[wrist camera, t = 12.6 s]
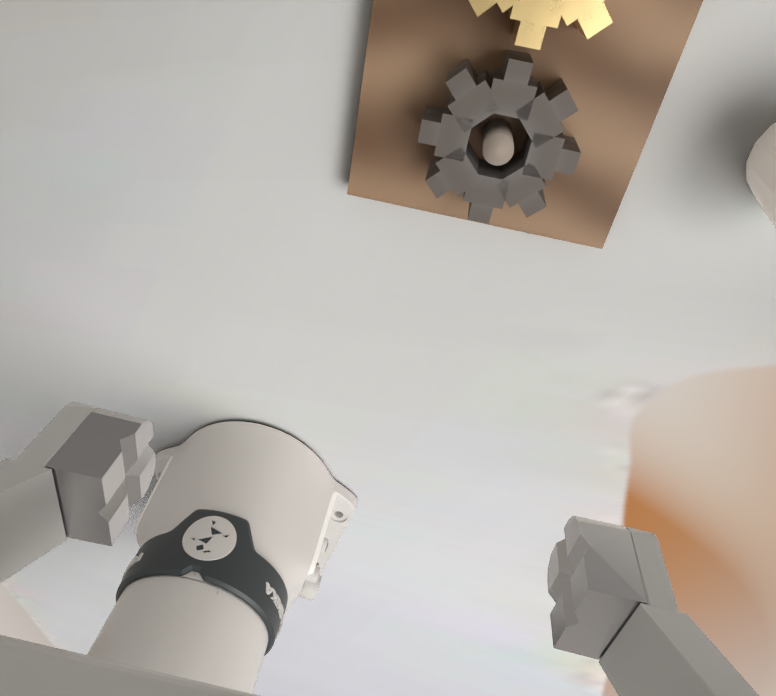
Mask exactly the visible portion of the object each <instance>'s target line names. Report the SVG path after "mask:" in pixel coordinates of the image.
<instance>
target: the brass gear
mask: <svg viewBox="0 0 776 696" xmlns="http://www.w3.org/2000/svg"><path fill="white" fill-rule="evenodd" d="M603 1H604V0H469V2H470V4H471V6H472V8H473V9H474V11H475V13H476V15H477V17H478V16H480V15H481V14H482V13H484V12H485V11H486V10H488V9H489V8H490V7H492V6H493V5H494V4H496V3H498V5H499V7H500V9H501V11H502V13H503V12H505V11H506V10H507V9H508V13H509V17H510V19H515V24H514V28H513V32H512V37H513V41H514V45H518V46H523V47H527V48H532V49H537V50H540V48H541V45H542V41H543V38H544V34H545V31H546V27H547V26H549V27H554V28H558V25H559V22H560V19H561V20H562V21H563V22H564V23H565V24H566V25H567V26H568V25H569V24H571V23H572V22H574V24H575V26H576V28H577V30H578V31H579V32H580V33H581V34H582V35H583V36H584V37H585V38H586V39H589V38H590V37H592V36H593V35H595V34H596V33H598V32H599V31H601V30H602V29H604V28H605V27H607V26H608V25H610V24H611V23H613V22H612V19H611V17H610V15H609V13H608V11H607V9H606V7H605V4H604V2H603Z"/></svg>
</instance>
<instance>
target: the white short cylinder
mask: <svg viewBox="0 0 776 696" xmlns="http://www.w3.org/2000/svg"><path fill="white" fill-rule="evenodd" d="M746 181H747V183H748V185H749V187H750V189H751V191H752V193H753V195H754V196H755V198H756V199H757V201H758V202H759V204H760V205H761V207H762V208H763V210H764V211H765V213H766V214H767V216H768V217H769V219H770V220H771V222H772V223H773V225H774V226H775V227H776V122H775V123H773V124H771V125H770V126H769V128H768V129H767V130H766V131H765V132H764V133H763V134H762V135H761V136H760V137H759V138H758V140H757V141H756V142H755V143H754V146H753V148H752V150H751V152H750V155H749V157H748V159H747V161H746Z"/></svg>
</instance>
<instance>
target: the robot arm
mask: <svg viewBox="0 0 776 696" xmlns="http://www.w3.org/2000/svg"><path fill="white" fill-rule="evenodd" d="M153 436H154V433H153V425H152V422H150V421H148V420H144V419H140V418H136V417H132V416H128V415H124V414H120V413H116V412H112V411H109V410H105V409H101V408H95V407H91V406H87V405H83V404H79V403H75V402H73V403H71V404H69V405H67V406H65V407H64V408H63V409H62V410H61V411H60V412H59V413H58V415H57V416H56V417H55V418H54V419H53V420H52V421H51V422H50V423H49V424H48V425H47V426H46V427H45V429H44V430H43V431H42V432H41V433H40V434H39V435H38V436H37V437H36V438H35V439H34V440H33V441H32V443H31V444H30V445H29V446H28V447H27V448H26V449H25V450H24V451H23V452H22V453H21V454H20V455H19V456H18V458H17V459H16V460H10V459H6V460H3V461H1V462H0V583H1V582H3V581H4V580H6V579H7V578H9V577H10V576H12V575H14V574H15V573H17V572H18V571H20V570H21V569H23V568H24V567H26V566H27V565H29V564H30V563H32V562H33V561H35V560H37V559H38V558H40V557H41V556H43V555H44V554H46V553H47V552H49V551H50V550H52V549H53V548H55V547H56V546H58V545H60V544H61V543H63V542H64V541H66V540H67V538H66V537H69V538H74V539H79V540H84V541H89V542H94V543H99V544H104V545H108V546H112V545H113V544H114V542H115V541H116V539H117V537H118V536H119V534H120V533H121V531H122V530H123V528H124V526H125V525H126V523H127V522H128V520H129V519H130V513H129V506H130V505H132V504H134V503H136V502H138V501H140V500H141V499H142V498H143V496H144V495H145V493H146V491H147V490H148V488H149V485H150V483H151V480H152V477H153V475H154V473H155V476H156V479H157V484H156V485H155V487H154V489H153V491H152V493H151V495H150V497H149V499H148V501H147V503H146V505H145V507H144V509H143V511H142V513H141V515H140V517H139V518H138V520H137V523H136V525H135V529H134V533H135V534H136V535H137V541H138V544H139V546H140V547H141V548H140V549H139V551H138V553H137V554H136V556H135V558H134V559H133V560H132V561H131V563H130V564H129V566H128V567H127V569H126V571H125V573H124V575H123V578H122V582H121V584H120V586H119V588H118V590H117V593H116V605H115V606H114V608H113V610H112V612H111V613H110V615H109V617H108V619H107V620H106V622H105V624H104V626H103V627H102V629H101V631H100V633H99V635H98V636H97V638H96V640H95V642H94V643H93V645H92V647H91V649H90V650H89V652H88V654H87V655H84V654H80V653H75V652H71V651H67V650H63V649H58V648H54V647H50V646H45V645H41V644H37V643H32V642H28V641H24V640H20V639H15V638H11V637H7V636H3V635H0V696H259V695H255V694H253V692H254V688H255V685H256V681H257V677H258V674H259V671H260V667H261V664H262V661H263V658H264V656H265V655H266V654H267V653H268V652H269V651H270V650H271V648H272V646H273V644H274V641H275V639H276V638H277V636H278V634H279V632H280V629H281V626H282V623H283V619H284V617H285V616H286V614H287V613H288V611H289V609H290V608H291V606H292V604H293V602H294V600H295V599H296V597H297V596H300V597H302V598H305V599H308V600H314V599H315V596H316V594H317V591H318V588H319V585H320V581H321V574H322V572H323V570H324V568H325V566H326V565H327V563H328V561H329V559H330V557H331V555H332V553H333V551H334V550H335V548H336V546H337V544H338V542H339V540H340V538H341V536H342V535H343V533H344V531H345V529H346V527H347V525H348V523H349V522H350V520H351V518H352V516H353V514H354V512H355V509H356V507H357V504H358V501H357V498H356V497H355V496H354V495H353V494H352V493H351V492H350V491H349V490H348V489H346V488H345V487H343V486H342V485H341V484H339V483H338V482H336V481H335V479H334V478H333V477H332V476H331V474H330V473H329V471H328V470H327V468H326V467H325V465H324V464H323V462H322V461H321V460H320V459H319V458H318V456H317V455H316V454H315V453H314V452H313V451H311V450H310V449H309V448H308V447H307V446H305V445H304V444H303V443H301V442H300V441H298V440H297V439H295V438H294V437H292V436H290V435H288V434H286V433H284V432H282V431H279V430H277V429H274V428H272V427H268V426H265V425H261V424H256V423H251V422H241V421H229V422H221V423H216V424H212V425H209V426H206V427H204V428H202V429H200V430H198V431H197V432H195V433H194V434H192V435H191V436H190V437H189V438H188V439H187V440H186V441H185V442H184V443H182V444H181V445H179V446H176V447H172V448H168V449H165V450H162V451H160V452H158V453H157V454H156V456H155V452H154V450H153V449H152V448H151V447H150V445H149V442H150V441H151V439H152V438H153ZM564 532H565V539H564V540H562V541H560V542H558V543H556V545H555V547H554V549H553V551H552V554H551V557H550V561H549V566H548V579H547V581H548V592H549V594H550V595H551V597H552V598H553V599H554V601H555V602H556V605H555V607H554V608H553V610H552V612H551V614H550V616H551V626H552V636H553V647H554V648H556V649H560V650H564V651H567V652H571V653H575V654H579V655H583V656H587V657H591V658H594V659H598V660H600V661H599V663H600V665H601V667H602V668H603V670H604V672H605V674H606V675H607V677H608V679H609V680H610V682H611V684H612V685H613V687H614V688H615V690H616V692H617V694H618V695H619V696H759V695H758V694H757V693H756V691H755V690H754V689H753V688H752V687H751V686H750V685H749V684H748V682H747V681H746V680H745V679H744V678H743V677H742V676H741V674H739V672H738V671H737V670H736V669H735V668H734V667H733V665H732V664H731V663H730V662H729V661H728V660H727V659H726V657H725V656H724V655H723V654H722V653H721V652H720V651H719V650H718V649H717V647H716V646H715V645H714V644H713V643H712V642H711V641H710V640H709V638H708V637H707V636H706V635H705V634H704V633H703V631H702V630H701V629H700V628H699V627H698V626H697V625H696V624H695V622H694V621H693V620H692V619H691V618H690V617H689V615H687V614H685V613H681V612H679V610H678V607H677V604H676V600H675V596H674V593H673V590H672V586H671V583H670V579H669V576H668V573H667V569H666V566H665V562H664V559H663V556H662V552H661V549H660V545H659V542H658V538H657V537H656V536H655V534H654V533H651V532H646V531H642V530H637V529H632V528H628V527H623V526H619V525H615V524H610V523H605V522H601V521H596V520H591V519H587V518H582V517H577V516H572V517H571V518H570V519H569V520H568V522H567V524H566V526H565V527H564Z"/></svg>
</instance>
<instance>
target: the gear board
mask: <svg viewBox="0 0 776 696" xmlns="http://www.w3.org/2000/svg"><path fill="white" fill-rule="evenodd" d="M603 2H604V4H605V7H606V9H607V11H608V13H609V15H610V17H611V19H612V22H613V23H611V24H610V25H608V26H607V27H605V28H604V29H602V30H601V31H599V32H598V33H596V34H595V35H593V36H592V37H590V38H589V39H586V38H585V37H584V36H583V35H582V34H581V33H580V32H579V31H578V30H577V28H576V26H575V24H574V22H572V23H571V24H569V25H568V26H567V25H566V24H565V23H564V22H563V21H562V20H561V19H560V22H559V25H558V28H554V27H549V26H547V27H546V31H545V34H544V38H543V41H542V45H541V48H540V50H537V49H532V48H527V47H523V46H518V45H514V41H513V37H512V32H513V28H514V24H515V19H510V17H509V13H508V9H507V10H506V11H505V12H503V13H502V11H501V9H500V7H499V5H498V3H496V4H494V5H493V6H492V7H490V8H489V9H488V10H486V11H485V12H484V13H482V14H481V15H480V16H478V17H477V15H476V13H475V11H474V9H473V8H472V6H471V4H470V2H469V0H373V3H372V11H371V18H370V26H369V33H368V41H367V48H366V56H365V63H364V71H363V79H362V86H361V94H360V101H359V109H358V116H357V124H356V131H355V139H354V146H353V154H352V162H351V169H350V177H349V184H348V192H347V194H349V195H354V196H358V197H363V198H368V199H372V200H377V201H382V202H386V203H391V204H396V205H400V206H405V207H410V208H414V209H419V210H424V211H428V212H433V213H438V214H442V215H447V216H452V217H456V218H461V219H466V220H470V221H475V222H480V223H484V224H489V225H494V226H498V227H503V228H508V229H512V230H517V231H522V232H526V233H531V234H536V235H540V236H545V237H550V238H554V239H559V240H564V241H568V242H573V243H578V244H582V245H587V246H592V247H596V248H601V249H602V248H603V245H604V243H605V240H606V238H607V235H608V233H609V231H610V228H611V226H612V223H613V221H614V218H615V216H616V213H617V211H618V208H619V206H620V204H621V201H622V199H623V196H624V194H625V191H626V189H627V186H628V184H629V181H630V179H631V177H632V174H633V172H634V169H635V167H636V164H637V162H638V159H639V157H640V154H641V152H642V149H643V147H644V145H645V142H646V140H647V137H648V135H649V132H650V130H651V127H652V125H653V122H654V120H655V118H656V115H657V113H658V110H659V108H660V105H661V103H662V100H663V98H664V95H665V93H666V91H667V88H668V86H669V83H670V81H671V78H672V76H673V73H674V71H675V68H676V66H677V63H678V61H679V59H680V56H681V54H682V51H683V49H684V46H685V44H686V41H687V39H688V36H689V34H690V32H691V29H692V27H693V24H694V22H695V19H696V17H697V14H698V12H699V9H700V7H701V5H702V2H703V0H604V1H603Z"/></svg>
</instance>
